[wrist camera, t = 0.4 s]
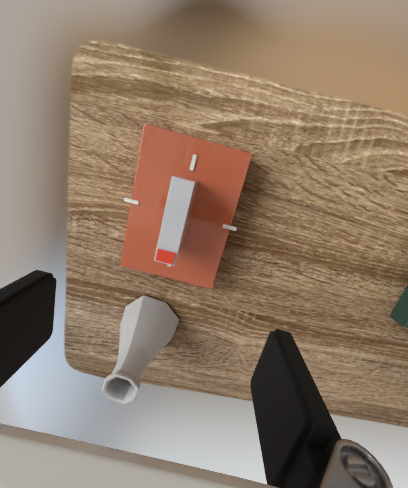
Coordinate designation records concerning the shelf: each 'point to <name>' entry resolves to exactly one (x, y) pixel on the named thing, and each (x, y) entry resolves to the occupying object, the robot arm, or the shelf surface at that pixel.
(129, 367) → the flask
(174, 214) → the tap handle
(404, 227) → the shelf surface
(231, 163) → the panel
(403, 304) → the button block
